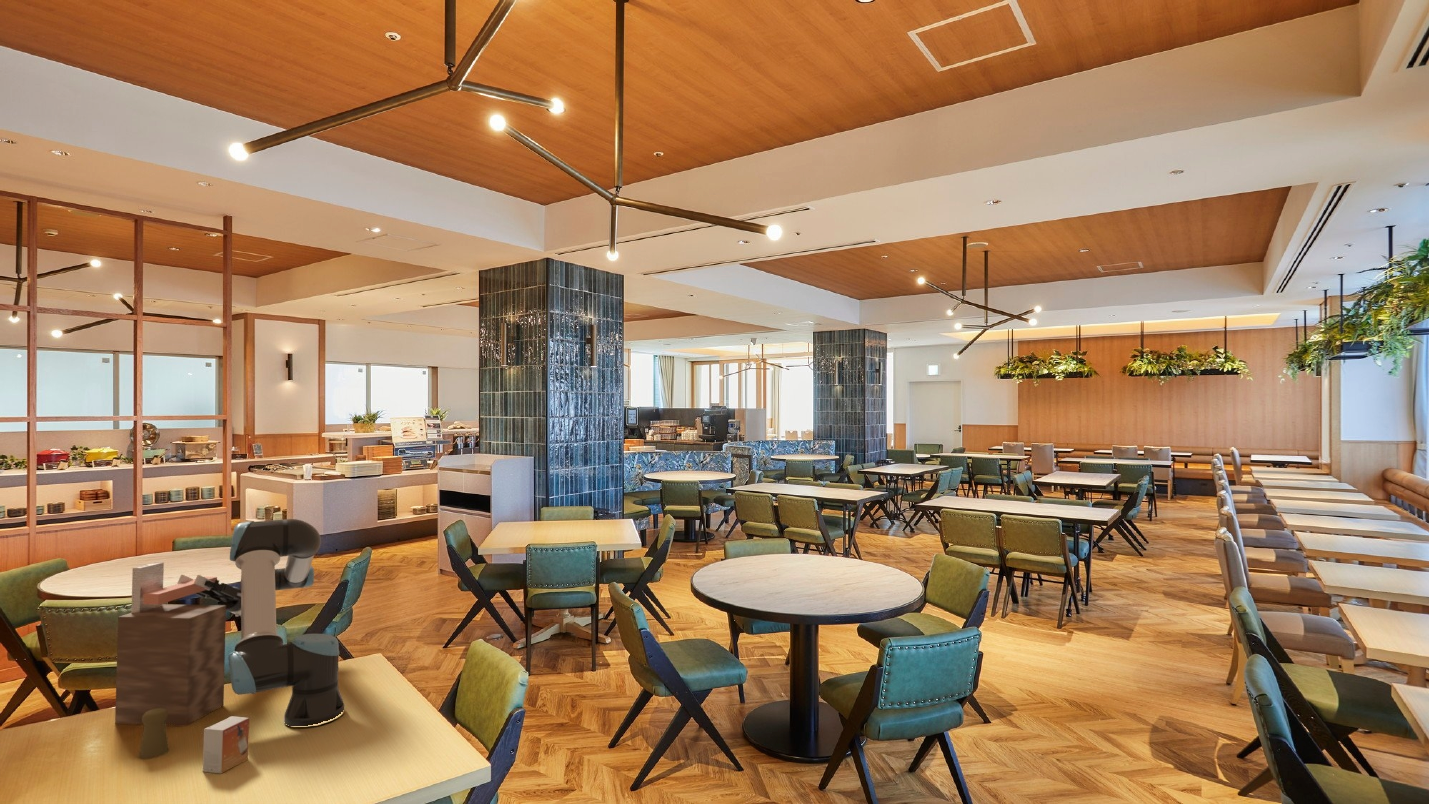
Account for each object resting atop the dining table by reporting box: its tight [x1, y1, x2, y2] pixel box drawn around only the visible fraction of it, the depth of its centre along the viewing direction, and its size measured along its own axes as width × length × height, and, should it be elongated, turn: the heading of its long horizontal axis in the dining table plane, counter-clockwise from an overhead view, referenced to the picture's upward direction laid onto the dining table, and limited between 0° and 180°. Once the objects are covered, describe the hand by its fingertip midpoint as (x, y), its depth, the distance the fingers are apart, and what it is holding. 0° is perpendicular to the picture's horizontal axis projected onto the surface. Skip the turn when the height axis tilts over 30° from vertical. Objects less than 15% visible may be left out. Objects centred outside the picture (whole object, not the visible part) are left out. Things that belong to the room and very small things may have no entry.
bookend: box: [130, 561, 165, 613], centre depth 208 cm, size 8×2×13 cm, turn 177°
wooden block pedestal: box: [114, 603, 227, 727], centre depth 206 cm, size 14×21×30 cm, turn 87°
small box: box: [202, 715, 250, 774], centre depth 176 cm, size 8×6×10 cm
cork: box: [138, 708, 170, 760], centre depth 182 cm, size 6×6×11 cm
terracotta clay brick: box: [143, 576, 218, 605], centre depth 212 cm, size 22×4×3 cm, turn 177°
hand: (188, 579), depth 214 cm, fingers closed on terracotta clay brick, 4 cm apart
